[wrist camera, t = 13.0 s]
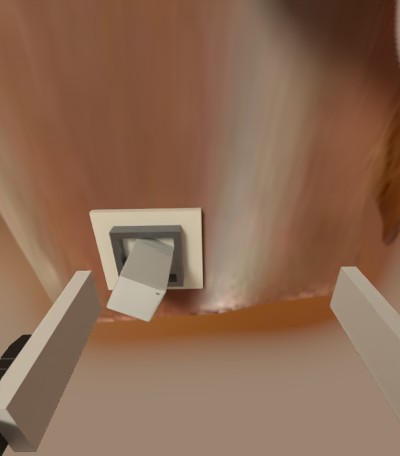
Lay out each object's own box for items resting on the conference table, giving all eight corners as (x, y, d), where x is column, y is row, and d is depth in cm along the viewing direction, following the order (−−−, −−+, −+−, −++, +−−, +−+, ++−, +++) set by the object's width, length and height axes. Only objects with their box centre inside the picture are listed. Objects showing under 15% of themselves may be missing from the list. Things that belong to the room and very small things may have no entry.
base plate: (91, 210, 46) (89, 212, 45) (201, 207, 46) (201, 210, 45) (110, 286, 55) (108, 289, 54) (202, 284, 54) (202, 288, 53)
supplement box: (139, 231, 47) (119, 274, 36) (175, 246, 48) (168, 292, 37) (126, 260, 50) (104, 308, 39) (160, 274, 52) (149, 323, 40)
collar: (113, 226, 46) (108, 232, 44) (180, 224, 46) (179, 231, 44) (124, 279, 52) (120, 287, 50) (184, 278, 52) (183, 286, 50)
